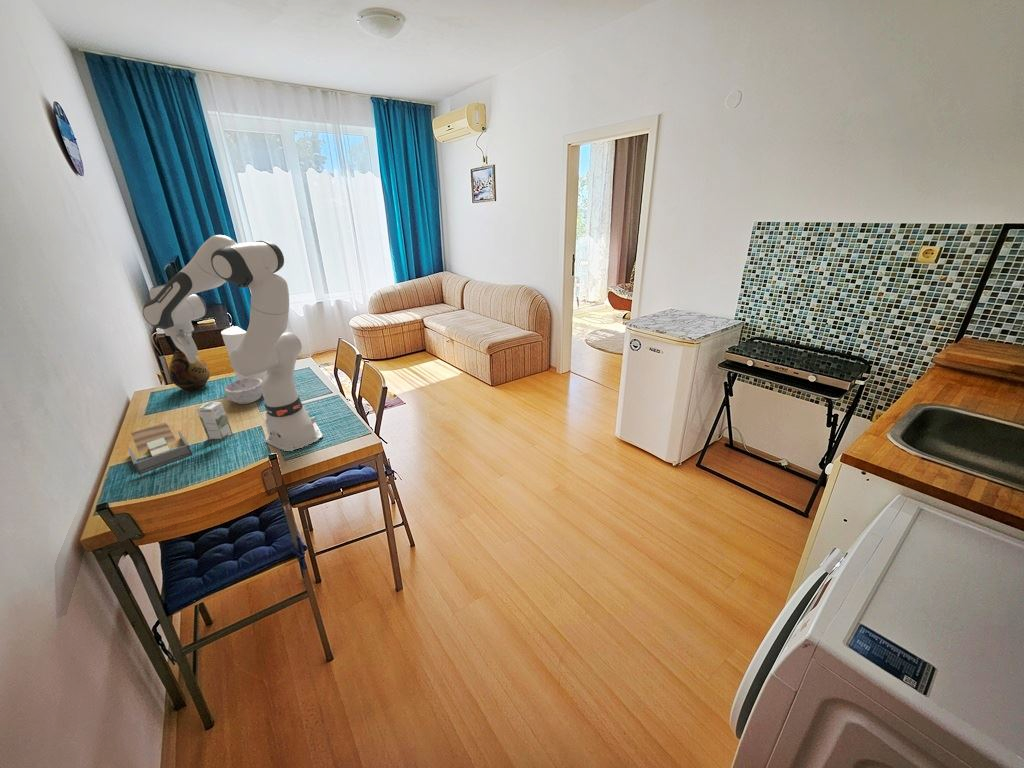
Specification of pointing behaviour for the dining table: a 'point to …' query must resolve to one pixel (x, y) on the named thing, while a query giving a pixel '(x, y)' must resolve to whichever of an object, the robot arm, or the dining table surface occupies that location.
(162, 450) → the cream tile
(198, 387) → the ceramic jug
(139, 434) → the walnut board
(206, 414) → the syrup box
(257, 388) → the white purple floral bowl
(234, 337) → the cylinder
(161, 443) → the sage tile
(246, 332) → the robot arm
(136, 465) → the grey bin
